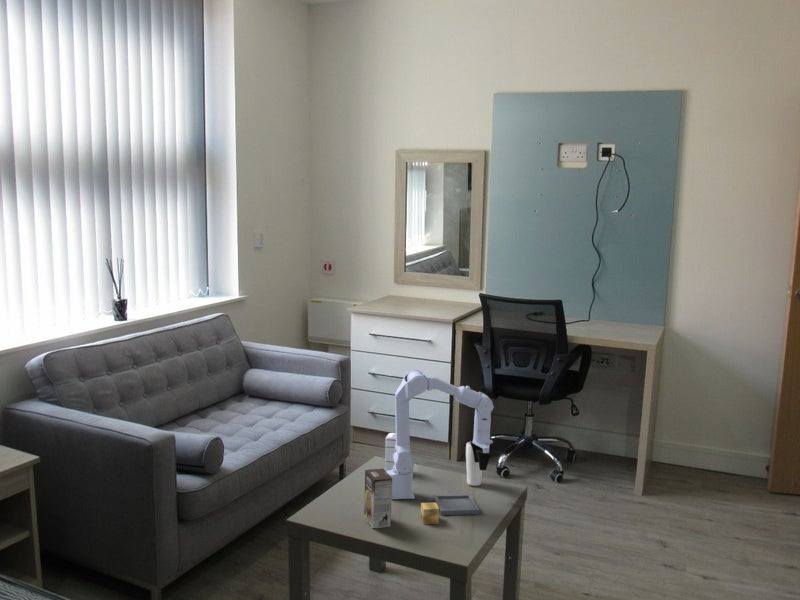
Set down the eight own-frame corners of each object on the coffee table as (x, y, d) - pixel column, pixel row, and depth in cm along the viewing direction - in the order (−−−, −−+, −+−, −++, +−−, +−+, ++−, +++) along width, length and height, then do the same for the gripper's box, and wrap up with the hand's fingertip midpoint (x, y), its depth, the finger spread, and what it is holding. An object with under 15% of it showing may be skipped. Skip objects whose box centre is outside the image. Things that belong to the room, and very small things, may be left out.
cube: (423, 524, 228) (423, 509, 228) (420, 517, 233) (420, 502, 233) (438, 523, 229) (439, 508, 228) (435, 517, 234) (436, 502, 233)
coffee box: (363, 517, 232) (364, 469, 230) (381, 514, 234) (383, 467, 232) (372, 529, 223) (373, 479, 221) (391, 526, 225) (393, 477, 223)
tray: (440, 515, 235) (441, 510, 235) (433, 499, 248) (433, 495, 248) (479, 514, 237) (479, 509, 237) (470, 498, 250) (470, 494, 250)
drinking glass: (483, 487, 259) (484, 446, 258) (464, 486, 260) (465, 445, 259) (483, 481, 265) (485, 442, 264) (465, 480, 266) (466, 440, 265)
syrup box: (399, 475, 269) (400, 438, 267) (384, 473, 270) (385, 436, 268) (402, 470, 275) (403, 433, 273) (387, 468, 276) (388, 432, 274)
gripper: (498, 435, 245) (496, 473, 247) (487, 422, 259) (486, 458, 261) (478, 435, 244) (476, 473, 246) (468, 422, 258) (467, 458, 260)
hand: (480, 465), depth 253 cm, fingers open, 7 cm apart
